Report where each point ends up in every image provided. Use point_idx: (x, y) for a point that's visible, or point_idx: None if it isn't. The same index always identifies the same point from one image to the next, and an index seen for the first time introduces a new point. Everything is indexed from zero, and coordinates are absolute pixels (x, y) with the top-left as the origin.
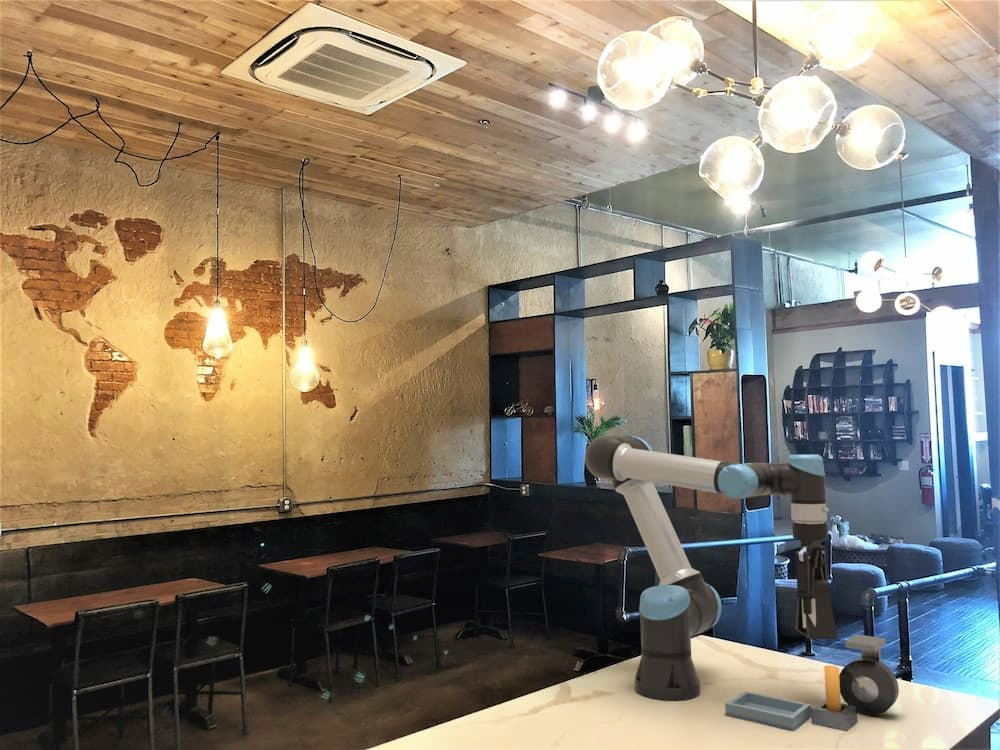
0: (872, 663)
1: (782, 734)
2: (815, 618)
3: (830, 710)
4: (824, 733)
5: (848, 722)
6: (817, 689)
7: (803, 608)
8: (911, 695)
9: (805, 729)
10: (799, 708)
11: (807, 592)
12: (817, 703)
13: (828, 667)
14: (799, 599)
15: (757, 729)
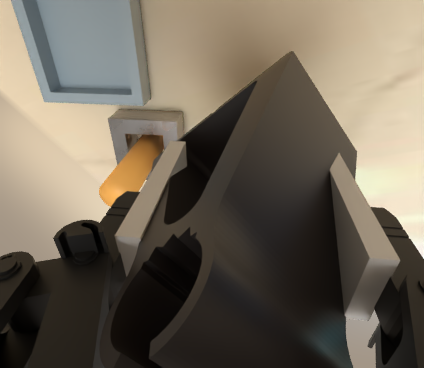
0: None
1: (29, 83)
2: None
3: (124, 151)
4: (93, 140)
5: None
6: (357, 47)
7: (109, 209)
8: (392, 213)
9: (83, 109)
10: (103, 94)
11: (5, 336)
12: (144, 121)
13: (112, 189)
14: (207, 183)
15: (6, 32)
